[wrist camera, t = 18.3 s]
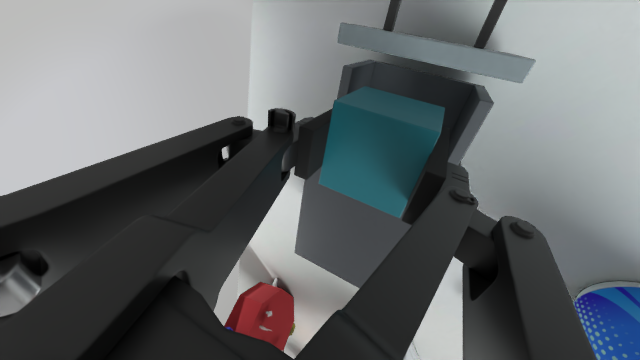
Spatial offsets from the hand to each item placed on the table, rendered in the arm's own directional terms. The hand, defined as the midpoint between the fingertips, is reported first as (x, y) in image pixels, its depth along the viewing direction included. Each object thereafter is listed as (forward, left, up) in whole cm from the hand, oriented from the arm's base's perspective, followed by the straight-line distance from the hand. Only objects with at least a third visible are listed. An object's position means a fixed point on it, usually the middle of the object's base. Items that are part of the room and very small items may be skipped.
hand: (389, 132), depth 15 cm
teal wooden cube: (0, 0, 0) cm, 0 cm away
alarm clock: (+47, -11, -10) cm, 50 cm away
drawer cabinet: (+11, 0, -10) cm, 15 cm away
